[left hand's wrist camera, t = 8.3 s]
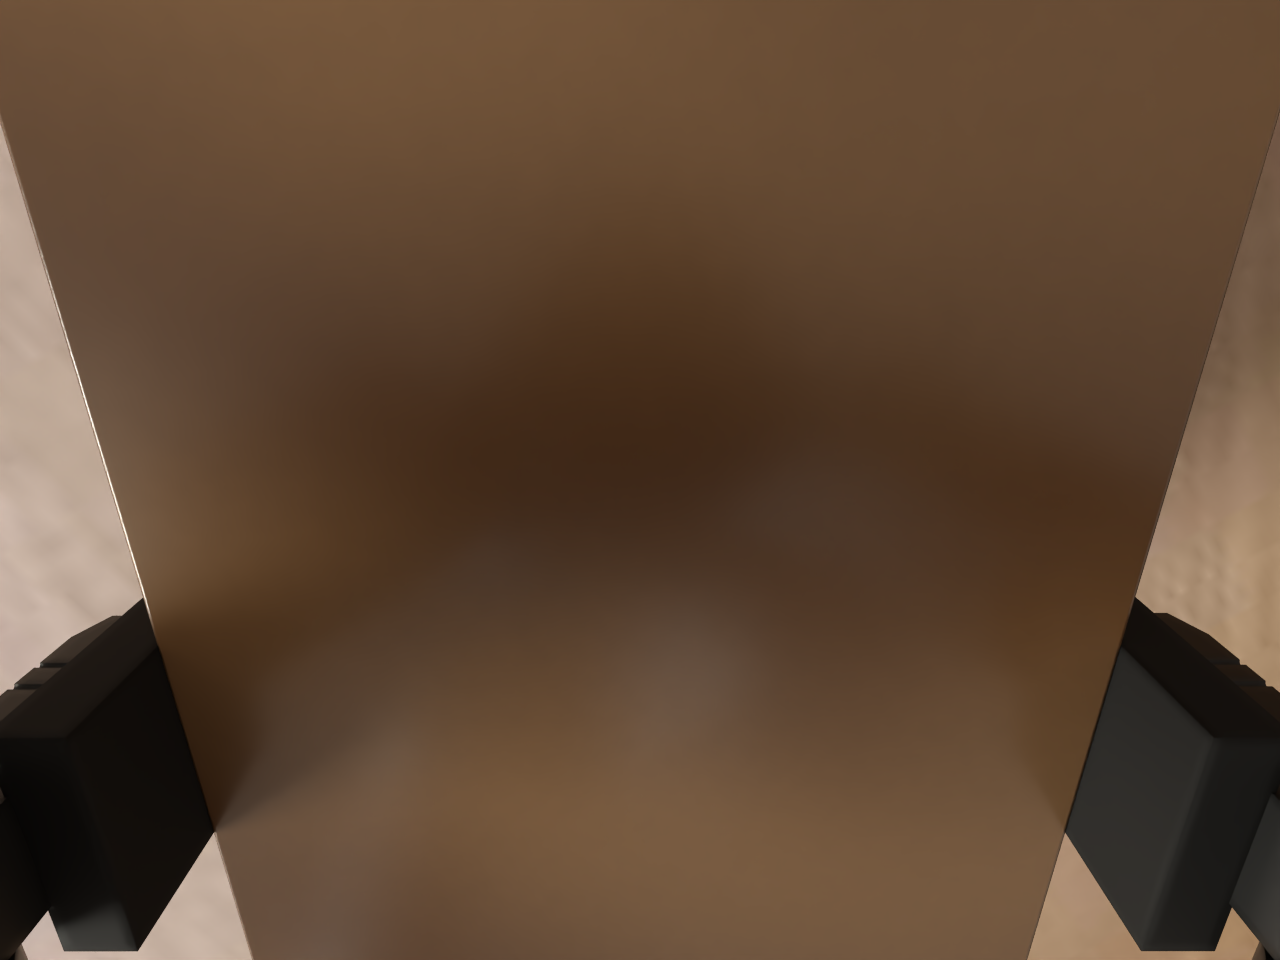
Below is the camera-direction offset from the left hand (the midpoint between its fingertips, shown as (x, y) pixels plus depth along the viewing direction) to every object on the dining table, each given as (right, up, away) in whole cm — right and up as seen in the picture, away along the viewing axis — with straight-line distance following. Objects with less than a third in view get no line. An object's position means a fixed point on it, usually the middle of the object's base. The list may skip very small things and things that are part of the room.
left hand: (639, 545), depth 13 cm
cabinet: (0, +6, +4) cm, 8 cm away
